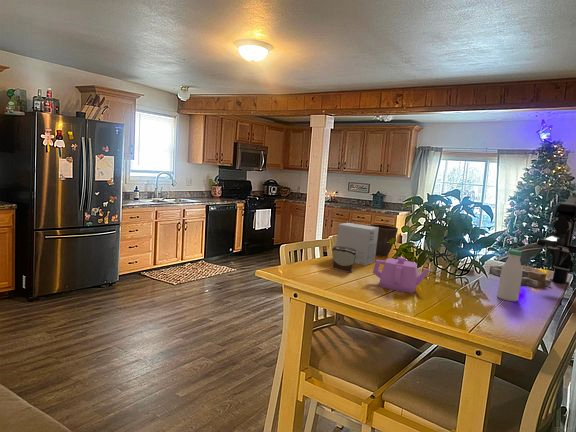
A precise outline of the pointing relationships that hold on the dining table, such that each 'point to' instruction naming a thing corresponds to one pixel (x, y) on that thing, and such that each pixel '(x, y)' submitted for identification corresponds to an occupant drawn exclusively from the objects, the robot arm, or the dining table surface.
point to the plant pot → (385, 239)
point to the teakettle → (399, 274)
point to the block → (538, 277)
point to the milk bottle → (510, 277)
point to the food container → (344, 258)
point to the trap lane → (525, 277)
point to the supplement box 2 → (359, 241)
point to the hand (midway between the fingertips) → (556, 264)
